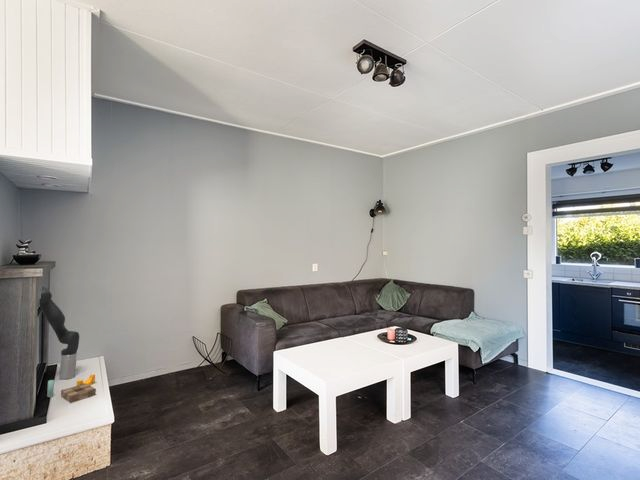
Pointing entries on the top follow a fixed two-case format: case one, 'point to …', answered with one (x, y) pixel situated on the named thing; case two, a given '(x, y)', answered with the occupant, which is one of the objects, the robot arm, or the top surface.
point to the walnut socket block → (78, 393)
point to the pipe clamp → (88, 381)
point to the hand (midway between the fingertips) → (29, 363)
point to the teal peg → (50, 388)
